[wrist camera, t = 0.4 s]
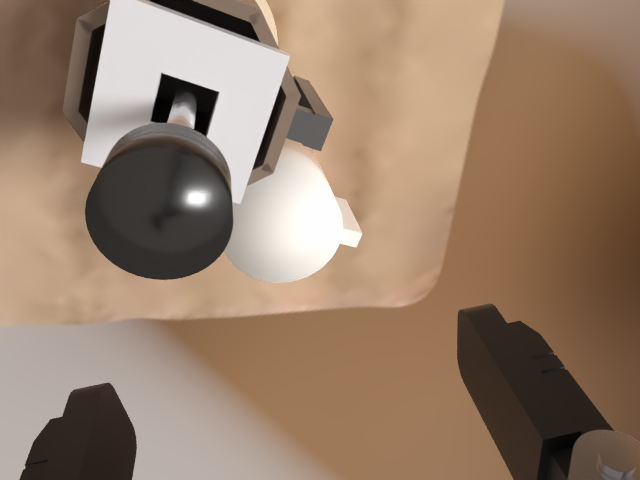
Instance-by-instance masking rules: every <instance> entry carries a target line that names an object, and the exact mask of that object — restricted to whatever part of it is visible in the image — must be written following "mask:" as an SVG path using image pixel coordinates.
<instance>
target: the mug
mask: <svg viewBox="0 0 640 480" xmlns="http://www.w3.org/2000/svg"><path fill="white" fill-rule="evenodd" d="M232 205H233V230H232V234H231V237H230V240H229V242H228V245H227V246H226V248H225V250H224V251H225V253H226V255H227V257H228V258H229V260H230V261H231V262H232V263H233V264H234V265H235V266H236V267H237V268H238V269H239V270H240V271H242V272H243V273H245V274H246V275H248V276H250V277H252V278H255V279H257V280H261V281H265V282H271V283H285V282H292V281H296V280H300V279H303V278H305V277H307V276H309V275H311V274H313V273H315V272H316V271H318V270H319V269H321V268H322V267H323V266H324V265H325V264H326V263H327V262H328V261H329V260H330V259H331V258H332V256H333V255H334V253H335V252H336V250H337V248H338V246H339V244H344V245H348V246H352V247H357V244H358V242H359V240H360V238H361V236H362V232H361V230H360V227H359V225H358V223H357V221H356V219H355V217H354V215H353V213H352V211H351V209H350V207H349V205H348V203H347V201H346V200H344V199H341V198H337V197H334V195H333V193H332V191H331V188H330V186H329V184H328V182H327V179H326V177H325V175H324V173H323V171H322V168H321V166H320V164H319V162H318V160H317V157H316V155H315V154H314V152H313V150H312V149H311V148H309V147H306V146H303V144H302V143H299V142H296V141H293V140H290V139H287V138H286V140H285V142H284V145H283V148H282V151H281V154H280V156H279V159H278V162H277V165H276V168H275V170H274V173H273V174H271V175H269V176H267V177H265V178H263V179H261V180H259V181H257V182H255V183H253V184H251V185H249V186H247V187H246V189H245V192H244V195H243V198H242V201H241V204H238V203H234V202H232Z"/></svg>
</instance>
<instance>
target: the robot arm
mask: <svg viewBox="0 0 640 480" xmlns="http://www.w3.org/2000/svg"><path fill="white" fill-rule="evenodd" d="M457 359H458V365H459V370H460V373H461V376H462V379H463V382H464V384H465V386H466V388H467V390H468V392H469V394H470V396H471V397H472V399H473V401H474V403H475V405H476V407H477V409H478V411H479V413H480V415H481V417H482V419H483V421H484V423H485V424H486V426H487V428H488V430H489V432H490V434H491V436H492V438H493V440H494V442H495V444H496V446H497V448H498V450H499V452H500V454H501V456H502V458H503V460H504V461H505V463H506V465H507V467H508V469H509V471H510V473H511V475H512V477H513V479H514V480H640V442H638V441H637V440H635V439H634V438H632V437H630V436H628V435H625V434H623V433H619V432H616V431H614V430H613V429H612V428H611V426H610V425H609V424H608V423H607V422H606V420H605V419H604V418H603V416H602V415H601V414H600V412H599V411H598V410H597V408H596V407H595V406H594V405H593V403H592V402H591V400H590V399H589V398H588V397H587V395H586V394H585V393H584V391H583V390H582V389H581V388H580V386H579V385H578V384H577V382H576V381H575V379H574V378H573V377H572V376H571V374H570V373H569V372H568V371H567V370H565V368H564V365H563V364H562V362H561V361H560V360H559V359H558V357H557V356H556V355H554V353H553V350H552V349H551V348H550V347H549V345H548V344H547V343H546V341H545V340H544V339H543V337H542V336H541V335H540V334H539V333H538V332H536V331H534V330H533V329H532V328H530V327H528V326H527V325H525V324H524V323H522V322H521V321H516V322H512V323H507V322H506V321H505V320H504V318H503V317H502V315H501V314H500V313H499V311H498V310H497V308H496V307H495V306H494V305H493V304H486V305H481V306H476V307H471V308H467V309H462V310H459V312H458V333H457ZM136 446H137V444H136V435H135V431H134V427H133V425H132V423H131V421H130V419H129V417H128V415H127V413H126V411H125V409H124V407H123V405H122V403H121V401H120V399H119V397H118V395H117V393H116V391H115V389H114V387H113V386H112V385H111V384H110V383H104V384H99V385H94V386H89V387H85V388H80V389H76V390H73V391H72V392H71V393H70V395H69V398H68V401H67V404H66V407H65V410H64V413H63V416H62V417H59V418H54V419H51V420H50V421H49V422H48V424H47V425H46V426H45V428H44V429H43V430H42V431H41V433H40V434H39V435H38V437H37V438H36V439H35V440H34V442H33V445H32V447H31V450H30V453H29V455H28V458H27V461H26V464H25V466H26V468H25V469H24V470H23V472H22V475H21V477H20V480H132V476H133V469H134V464H135V457H136V449H137V447H136Z"/></svg>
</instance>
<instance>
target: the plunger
mask: <svg viewBox="0 0 640 480" xmlns="http://www.w3.org/2000/svg"><path fill="white" fill-rule="evenodd" d="M198 93H199V85H197V84H194V83H191V82H188V81H185V80H182V79H179V82H178V86H177V89H176V93H175V96H174V100H173V104H172V107H171V111H170V114H169V118H168V121H167V123H153V124H148V125H144V126H140V127H138V128H136V129H133V130H132V131H130V132H128V133H127V134H125V135H124V136H123V137H122V138H120V139H119V140H118V141H117V142H116V144H115V145H114V146H113V148H112V149H111V151H110V152H109V154H108V156H107V158H106V160H105V162H104V164H103V166H102V168H101V170H100V172H99V174H98V176H97V178H96V180H95V182H94V184H93V186H92V188H91V190H90V192H89V194H88V198H87V201H86V208H85V217H86V224H87V228H88V231H89V234H90V236H91V238H92V240H93V242H94V244H95V245H96V246H97V248H98V249H99V251H100V252H101V253H102V254H103V255H104V256H105V257H106V258H107V259H108V260H110V261H111V262H112V263H113V264H115V265H116V266H118V267H119V268H121V269H123V270H125V271H127V272H129V273H132V274H134V275H137V276H141V277H145V278H150V279H160V280H167V279H177V278H183V277H186V276H190V275H192V274H195V273H197V272H199V271H201V270H203V269H205V268H206V267H208V266H209V265H211V264H212V263H213V262H214V261H215V260H216V259H217V258H218V257H219V256H220V255H221V254H222V252H223V251H224V250H225V248H226V246H227V245H228V242H229V240H230V237H231V234H232V230H233V205H232V187H231V175H230V170H229V167H228V164H227V162H226V160H225V158H224V156H223V154H222V153H221V151H220V150H219V149H218V147H217V146H216V145H215V144H214V143H213V142H212V141H211V140H210V139H208V138H207V137H206V136H204V135H203V134H201V133H200V132H198V131H196V130H194V124H195V116H196V108H197V100H198Z"/></svg>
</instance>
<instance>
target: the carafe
mask: <svg viewBox="0 0 640 480" xmlns="http://www.w3.org/2000/svg"><path fill="white" fill-rule="evenodd" d="M289 58H290V56H289V54H288V53H287V52H285V51H282V50H280V49H279V47H278V38H277V30H276V26H275V22H274V18H273V15H272V13H271V10H270V8H269V6H268V4H267V2H266V0H109V1H107V2H106V3H104V4H102V5H100V6H98V7H97V8H95V9H93V10H91V11H89V12H88V13H86V14H84V15H82V16H80V17H79V18H77V21H76V27H75V33H74V39H73V46H72V52H71V58H70V65H69V71H68V77H67V83H66V90H65V96H64V102H63V109H62V113H63V114H64V116H65V117H66V118H67V120H68V121H69V122H70V124H71V125H72V127H73V128H74V129H75V131H76V132H77V133H78V135H79V136H80V137H81V139H82V140H83V141H84V147H83V153H82V158H81V162H82V163H86V164H90V165H94V166H97V167H101V168H102V166H103V164H104V162H105V160H106V158H107V156H108V154H109V152H110V151H111V149H112V148H113V146H114V145H115V144H116V142H117V141H118V140H119V139H120V138H122V137H123V136H124V135H125V134H127V133H128V132H130V131H132V130H133V129H136V128H138V127H140V126H144V125H148V124H153V123H167V121H168V118H169V114H170V111H171V107H172V104H173V100H174V96H175V93H176V89H177V86H178V82H179V79H182V80H185V81H188V82H191V83H194V84H197V85H199V93H198V100H197V108H196V116H195V124H194V130H196V131H198V132H200V133H201V134H203V135H204V136H206V137H207V138H208V139H210V140H211V141H212V142H213V143H214V144H215V145H216V146H217V147H218V149H219V150H220V151H221V153H222V154H223V156H224V158H225V160H226V162H227V164H228V167H229V170H230V175H231V187H232V202H234V203H238V204H241V201H242V198H243V195H244V192H245V189H246V187H247V186H249V185H251V184H253V183H255V182H257V181H259V180H261V179H263V178H265V177H267V176H269V175H271V174H273V173H274V170H275V168H276V165H277V162H278V159H279V156H280V154H281V151H282V148H283V145H284V142H285V140H286V138H287V139H290V140H293V141H296V142H299V143H302V144H303V146H306V147H309V148H312V149H315V150H319V151H321V149H322V147H323V144H324V142H325V139H326V137H327V134H328V131H329V129H330V126H331V124H332V121H333V118H332V116H331V115H330V113H329V112H328V110H327V109H326V107H325V105H324V104H323V102H322V101H321V99H320V98H319V96H318V94H317V93H316V91H315V90H314V88H313V87H312V85H311V84H310V82H309V81H307V80H305V79H302V78H299V77H296V76H294V77H292V75H291V73H290V71H289V69H288V67H287V64H288V61H289Z"/></svg>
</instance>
